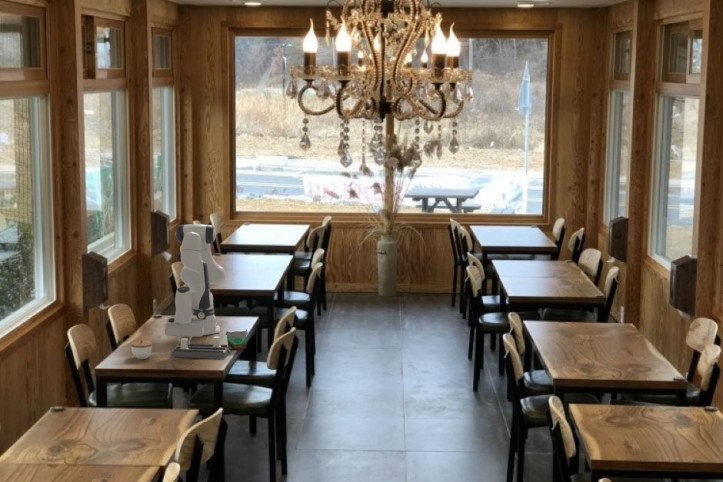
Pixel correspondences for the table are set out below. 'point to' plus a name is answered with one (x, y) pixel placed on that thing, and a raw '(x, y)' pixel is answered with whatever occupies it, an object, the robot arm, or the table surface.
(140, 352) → the lidded jar
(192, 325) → the robot arm
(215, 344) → the tab
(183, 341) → the tab
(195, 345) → the switch board
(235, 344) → the food container
